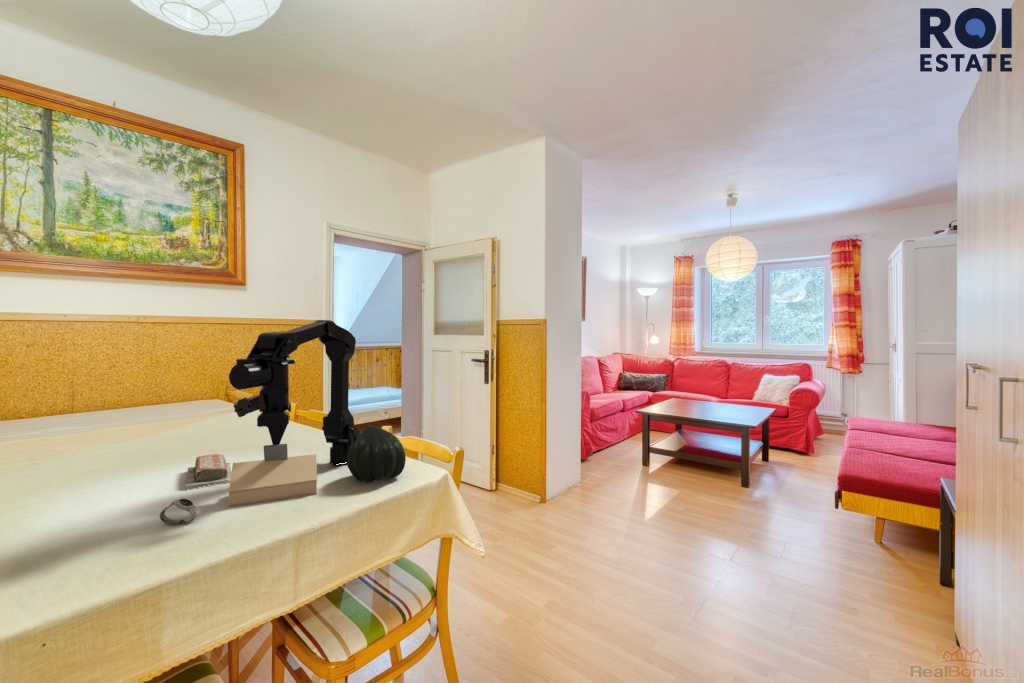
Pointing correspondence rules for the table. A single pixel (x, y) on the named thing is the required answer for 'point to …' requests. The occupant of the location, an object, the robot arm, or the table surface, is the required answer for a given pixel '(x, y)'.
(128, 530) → the table surface
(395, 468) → the squash
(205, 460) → the packaged product
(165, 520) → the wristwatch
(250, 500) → the cardboard box
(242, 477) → the lid
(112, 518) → the table surface
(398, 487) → the table surface
